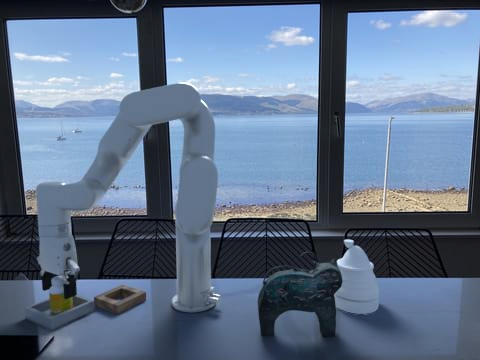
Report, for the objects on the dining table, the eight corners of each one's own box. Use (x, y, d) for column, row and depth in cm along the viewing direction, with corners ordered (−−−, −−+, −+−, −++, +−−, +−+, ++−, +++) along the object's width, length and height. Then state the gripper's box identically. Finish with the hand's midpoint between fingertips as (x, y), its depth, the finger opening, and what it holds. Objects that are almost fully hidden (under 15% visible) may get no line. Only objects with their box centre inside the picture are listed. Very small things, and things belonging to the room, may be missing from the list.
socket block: (146, 300, 103) (145, 291, 103) (118, 314, 94) (117, 305, 94) (122, 292, 108) (122, 284, 108) (94, 305, 100) (93, 297, 99)
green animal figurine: (337, 326, 88) (339, 248, 86) (345, 341, 82) (347, 256, 79) (257, 326, 88) (257, 248, 86) (258, 341, 82) (258, 257, 79)
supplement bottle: (64, 319, 91) (61, 282, 90) (45, 317, 92) (43, 281, 91) (77, 309, 96) (75, 274, 95) (60, 307, 98) (58, 273, 96)
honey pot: (327, 309, 97) (329, 245, 95) (333, 291, 109) (335, 233, 107) (378, 318, 92) (380, 250, 90) (378, 297, 104) (381, 237, 102)
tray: (94, 311, 96) (94, 300, 96) (51, 331, 86) (51, 319, 86) (68, 300, 103) (67, 290, 102) (25, 318, 93) (24, 307, 92)
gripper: (89, 230, 90) (92, 295, 92) (50, 222, 100) (54, 281, 101) (61, 237, 84) (65, 306, 86) (22, 228, 93) (27, 290, 95)
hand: (59, 292), depth 94 cm, fingers open, 9 cm apart
